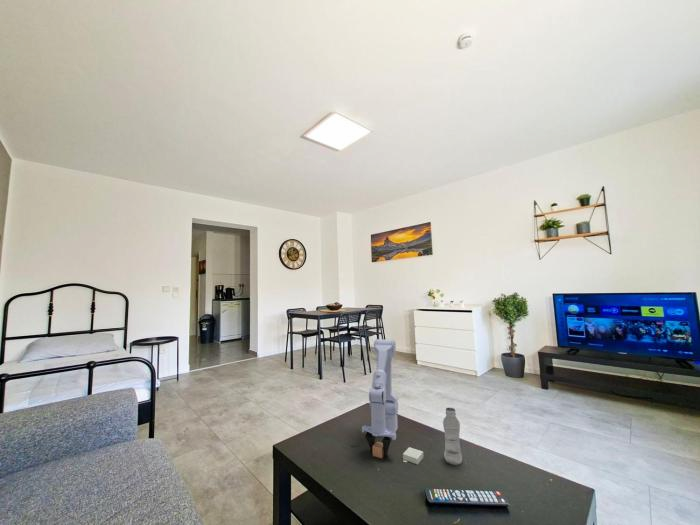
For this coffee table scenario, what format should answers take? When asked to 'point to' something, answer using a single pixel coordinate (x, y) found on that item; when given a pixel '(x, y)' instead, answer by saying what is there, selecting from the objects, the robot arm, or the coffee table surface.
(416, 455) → the top slab
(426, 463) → the coffee table surface
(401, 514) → the coffee table surface
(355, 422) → the coffee table surface
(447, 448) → the plastic bottle
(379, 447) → the block
